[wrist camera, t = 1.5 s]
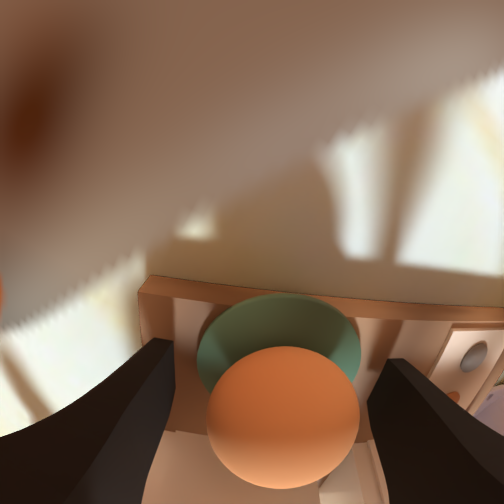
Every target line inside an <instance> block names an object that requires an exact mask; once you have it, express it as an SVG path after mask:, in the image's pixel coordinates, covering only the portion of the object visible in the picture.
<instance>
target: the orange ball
mask: <svg viewBox="0 0 504 504" xmlns="http://www.w3.org/2000/svg"><path fill="white" fill-rule="evenodd" d="M359 422H360V408H359V403H358V398H357V395H356V392H355V390H354V388H353V385H352V383H351V382H350V380H349V379H348V377H347V376H346V374H345V373H344V372H343V371H342V370H341V369H340V368H339V367H338V366H337V365H336V364H335V363H334V362H332V361H331V360H329V359H328V358H326V357H325V356H323V355H321V354H319V353H316V352H314V351H311V350H308V349H304V348H300V347H292V346H280V347H271V348H266V349H262V350H259V351H256V352H254V353H252V354H249V355H247V356H245V357H243V358H242V359H240V360H239V361H237V362H236V363H235V364H234V365H232V366H231V367H230V368H229V369H228V370H227V371H226V372H225V373H224V374H223V375H222V376H221V378H220V379H219V380H218V382H217V384H216V385H215V387H214V389H213V391H212V393H211V396H210V398H209V402H208V405H207V412H206V426H207V434H208V437H209V441H210V443H211V446H212V448H213V450H214V452H215V454H216V455H217V457H218V458H219V459H220V461H221V462H222V463H223V464H224V465H225V466H226V467H227V468H228V469H229V470H230V471H231V472H232V473H234V474H235V475H236V476H238V477H239V478H241V479H243V480H245V481H247V482H249V483H252V484H254V485H257V486H261V487H266V488H273V489H289V488H296V487H300V486H304V485H307V484H310V483H313V482H315V481H317V480H319V479H321V478H322V477H324V476H326V475H327V474H329V473H330V472H331V471H333V470H334V469H335V468H336V467H337V466H338V465H339V464H340V463H341V462H342V461H343V460H344V458H345V457H346V456H347V455H348V453H349V451H350V449H351V448H352V446H353V444H354V442H355V439H356V436H357V433H358V429H359Z"/></svg>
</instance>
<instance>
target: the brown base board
mask: <svg viewBox="0 0 504 504" xmlns="http://www.w3.org/2000/svg"><path fill="white" fill-rule="evenodd" d="M138 303H139V316H140V328H141V338H142V347H143V346H144V345H145V344H146V343H147V342H149V341H150V340H151V339H152V338H154V337H155V338H161V339H166V340H172V341H174V363H175V382H176V390H175V394H174V399H173V403H172V407H171V411H170V416H169V418H168V421H167V424H166V427H165V429H164V430H166V431H171V432H176V430H178V431H183V432H189V433H194V434H201V435H207V436H208V434H207V426H206V412H207V405H208V402H209V398H210V396H211V393H212V391H213V389H214V387H215V385H216V384H217V382H218V380H219V379H220V378H221V376H222V375H223V374H224V373H225V372H226V371H227V370H228V369H229V368H230V367H231V366H232V365H234V364H235V363H236V362H237V361H239V360H240V359H242V358H243V357H245V356H247V355H249V354H252V353H254V352H256V351H259V350H262V349H266V348H271V347H280V346H292V347H300V348H304V349H308V350H311V351H314V352H316V353H319V354H321V355H323V356H325V357H326V358H328V359H329V360H331V361H332V362H334V363H335V364H336V365H337V366H338V367H339V368H340V369H341V370H342V371H343V372H344V373H345V374H346V376H347V377H348V379H349V380H350V382H351V383H352V385H353V388H354V390H355V392H356V395H357V398H358V403H359V408H360V422H359V429H358V433H357V436H356V439H355V442H354V443H364V442H367V441H368V440H373V439H374V438H373V435H372V431H371V428H370V422H369V416H368V409H367V402H366V401H367V400H368V398H369V396H370V394H371V392H372V390H373V388H374V386H375V384H376V382H377V380H378V378H379V376H380V374H381V371H382V369H383V367H384V365H385V363H386V361H387V358H404V359H405V360H406V361H408V362H409V363H410V364H411V365H413V366H414V367H415V368H416V369H417V370H419V371H420V372H421V373H422V374H423V375H424V376H426V377H427V378H428V379H429V380H430V381H431V382H432V383H434V384H435V385H436V386H437V387H438V388H439V389H440V390H442V391H443V392H444V393H445V394H446V395H447V396H449V397H450V398H451V399H452V400H453V401H454V402H456V403H457V404H458V405H459V406H461V407H462V408H463V409H464V410H466V411H467V412H468V413H470V414H471V415H472V416H473V415H474V413H475V412H476V411H477V409H478V408H479V407H480V405H481V404H482V402H483V401H484V400H485V398H486V397H487V395H488V394H489V392H490V391H491V389H492V388H493V386H494V385H495V383H496V382H497V380H498V378H499V377H500V375H501V373H502V372H503V370H504V308H498V307H471V306H450V305H432V304H416V303H401V302H387V301H374V300H362V299H350V298H339V297H328V296H318V295H308V294H298V293H288V292H279V291H270V290H261V289H253V288H244V287H236V286H228V285H220V284H212V283H204V282H197V281H190V280H182V279H175V278H168V277H161V276H154V275H150V276H149V278H148V279H147V280H146V282H145V283H144V284H143V285H142V287H141V288H140V289H139V291H138ZM331 472H332V471H331ZM331 472H330V473H331ZM330 473H329V474H327V475H326V476H324V477H322V478H321V479H319V480H318V488H320V487H321V485H322V484H323V483H324V481H325V480H326V479H327V477H328V476H329V475H330Z"/></svg>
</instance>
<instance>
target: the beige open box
mask: <svg viewBox="0 0 504 504" xmlns="http://www.w3.org/2000/svg"><path fill="white" fill-rule="evenodd" d="M141 504H320V497H319V488H318V480H317V481H315V482H313V483H310V484H307V485H304V486H300V487H296V488H289V489H273V488H266V487H261V486H257V485H254V484H252V483H249V482H247V481H245V480H243V479H241V478H239V477H238V476H236V475H235V474H234V473H232V472H231V471H230V470H229V469H228V468H227V467H226V466H225V465H224V464H223V463H222V462H221V461H220V459H219V458H218V457H217V455H216V454H215V452H214V450H213V448H212V446H211V443H210V441H209V437H208V436H207V435H201V434H194V433H189V432H183V431H178V430H176V432H171V431H166V430H164V432H163V435H162V438H161V440H160V443H159V446H158V449H157V451H156V454H155V457H154V460H153V462H152V465H151V468H150V471H149V474H148V477H147V481H146V484H145V489H144V493H143V498H142V503H141Z"/></svg>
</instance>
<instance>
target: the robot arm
mask: <svg viewBox="0 0 504 504" xmlns="http://www.w3.org/2000/svg"><path fill="white" fill-rule="evenodd" d="M175 390H176V382H175V363H174V341H172V340H166V339H161V338H155V337H154V338H152V339H151V340H150V341H149V342H147V343H146V344H145V345H144V346H143V347H142V348H141V349H140V350H139V351H137V352H136V353H135V354H134V355H133V356H132V357H131V358H130V359H129V360H127V361H126V362H125V363H124V364H123V365H122V366H120V367H119V368H118V369H117V370H116V371H114V372H113V373H112V374H111V375H110V376H108V377H107V378H106V379H105V380H103V381H102V382H101V383H99V384H98V385H97V386H95V387H94V388H93V389H91V390H90V391H89V392H87V393H86V394H85V395H83V396H82V397H80V398H79V399H77V400H76V401H74V402H73V403H71V404H70V405H68V406H66V407H65V408H63V409H61V410H60V411H58V412H56V413H55V414H53V415H51V416H49V417H47V418H45V419H43V420H41V421H39V422H37V423H35V424H33V425H30V426H28V427H26V428H24V429H22V430H19V431H16V432H14V433H11V434H8V435H5V436H2V437H0V504H141V503H142V498H143V493H144V489H145V484H146V481H147V477H148V474H149V471H150V468H151V465H152V462H153V460H154V457H155V454H156V451H157V449H158V446H159V443H160V440H161V438H162V435H163V432H164V429H165V427H166V424H167V421H168V418H169V416H170V411H171V407H172V403H173V399H174V394H175ZM366 402H367V409H368V416H369V422H370V428H371V431H372V435H373V438H374V442H375V445H376V449H377V452H378V455H379V459H380V462H381V466H382V469H383V473H384V476H385V480H386V484H387V489H388V496H389V504H504V384H502V385H498V386H493V388H492V389H491V391H490V392H489V394H488V395H487V397H486V398H485V400H484V401H483V402H482V404H481V405H480V407H479V408H478V409H477V411H476V412H475V413H474V415H473V416H472V415H471V414H470V413H468V412H467V411H466V410H464V409H463V408H462V407H461V406H459V405H458V404H457V403H456V402H454V401H453V400H452V399H451V398H450V397H449V396H447V395H446V394H445V393H444V392H443V391H442V390H440V389H439V388H438V387H437V386H436V385H435V384H434V383H432V382H431V381H430V380H429V379H428V378H427V377H426V376H424V375H423V374H422V373H421V372H420V371H419V370H417V369H416V368H415V367H414V366H413V365H411V364H410V363H409V362H408V361H406V360H405V359H404V358H387V361H386V363H385V365H384V367H383V369H382V371H381V374H380V376H379V378H378V380H377V382H376V384H375V386H374V388H373V390H372V392H371V394H370V396H369V398H368V400H367V401H366Z"/></svg>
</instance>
